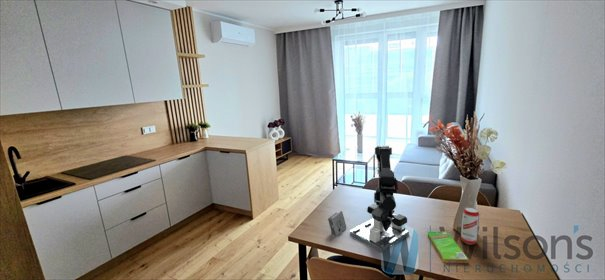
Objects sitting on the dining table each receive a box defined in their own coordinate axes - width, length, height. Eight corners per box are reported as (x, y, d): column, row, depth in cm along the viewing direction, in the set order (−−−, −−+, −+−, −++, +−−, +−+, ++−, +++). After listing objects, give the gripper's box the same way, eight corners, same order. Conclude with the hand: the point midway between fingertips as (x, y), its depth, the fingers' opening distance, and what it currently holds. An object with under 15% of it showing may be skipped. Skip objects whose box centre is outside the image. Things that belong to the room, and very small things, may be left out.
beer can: (476, 246, 120) (480, 214, 117) (460, 243, 124) (463, 211, 120) (476, 239, 126) (479, 208, 122) (460, 236, 129) (463, 205, 125)
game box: (443, 264, 112) (425, 234, 132) (468, 265, 111) (447, 235, 131) (443, 258, 111) (426, 229, 131) (468, 259, 110) (447, 229, 130)
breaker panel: (377, 219, 147) (377, 214, 146) (408, 234, 132) (409, 229, 131) (350, 234, 135) (350, 228, 134) (381, 252, 120) (381, 246, 119)
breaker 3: (394, 224, 137) (395, 214, 136) (401, 227, 134) (402, 217, 133) (391, 226, 135) (391, 216, 134) (398, 229, 132) (399, 219, 131)
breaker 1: (376, 226, 136) (376, 216, 134) (383, 230, 133) (383, 219, 131) (373, 228, 134) (373, 218, 133) (379, 232, 131) (380, 221, 130)
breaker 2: (372, 237, 127) (372, 226, 126) (379, 241, 124) (380, 229, 123) (369, 239, 126) (369, 228, 125) (376, 243, 123) (376, 231, 121)
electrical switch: (337, 236, 134) (335, 219, 132) (328, 234, 137) (326, 217, 136) (346, 228, 141) (345, 211, 139) (338, 226, 144) (336, 209, 143)
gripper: (359, 199, 129) (359, 228, 132) (393, 213, 114) (392, 246, 118) (374, 192, 135) (374, 220, 139) (408, 205, 121) (407, 236, 124)
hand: (386, 230), depth 130 cm, fingers closed
